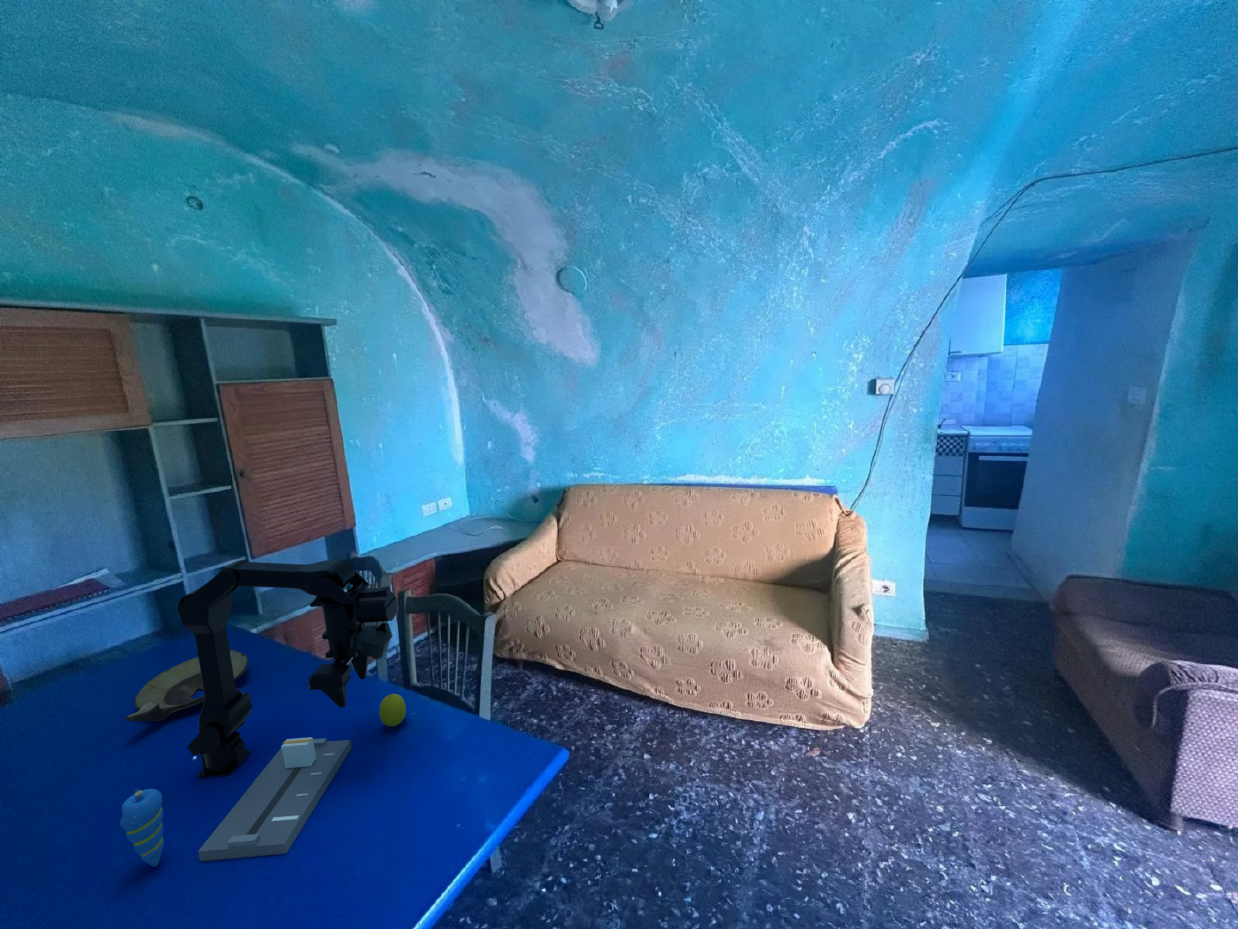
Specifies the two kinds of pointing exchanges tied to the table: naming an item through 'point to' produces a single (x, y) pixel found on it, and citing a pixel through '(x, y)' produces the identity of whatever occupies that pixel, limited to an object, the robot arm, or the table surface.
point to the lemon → (392, 710)
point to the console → (275, 806)
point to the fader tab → (298, 752)
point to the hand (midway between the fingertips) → (353, 692)
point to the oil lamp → (177, 689)
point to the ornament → (144, 824)
